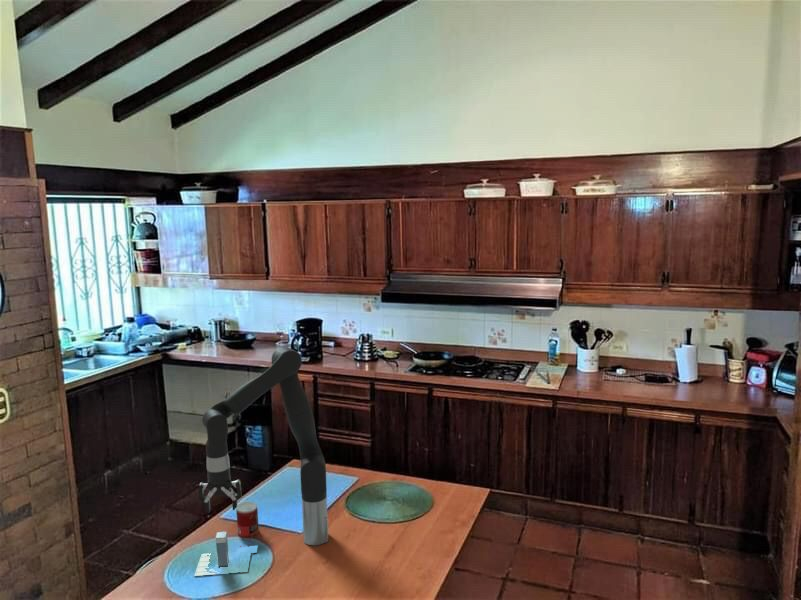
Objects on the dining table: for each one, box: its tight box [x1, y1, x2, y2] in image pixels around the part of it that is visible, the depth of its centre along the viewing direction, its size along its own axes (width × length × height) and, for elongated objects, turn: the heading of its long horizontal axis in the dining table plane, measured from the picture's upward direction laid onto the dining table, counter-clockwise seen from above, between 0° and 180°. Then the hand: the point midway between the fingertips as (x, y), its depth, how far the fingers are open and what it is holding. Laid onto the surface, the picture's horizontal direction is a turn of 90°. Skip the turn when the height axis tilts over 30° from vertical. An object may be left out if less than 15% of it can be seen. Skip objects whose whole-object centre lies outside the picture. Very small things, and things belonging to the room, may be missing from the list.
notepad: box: [193, 552, 219, 578], centre depth 213 cm, size 18×13×1 cm
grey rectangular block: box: [215, 531, 229, 568], centre depth 210 cm, size 3×3×12 cm
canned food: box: [235, 501, 260, 539], centre depth 232 cm, size 8×8×11 cm
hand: (221, 509), depth 210 cm, fingers open, 8 cm apart
